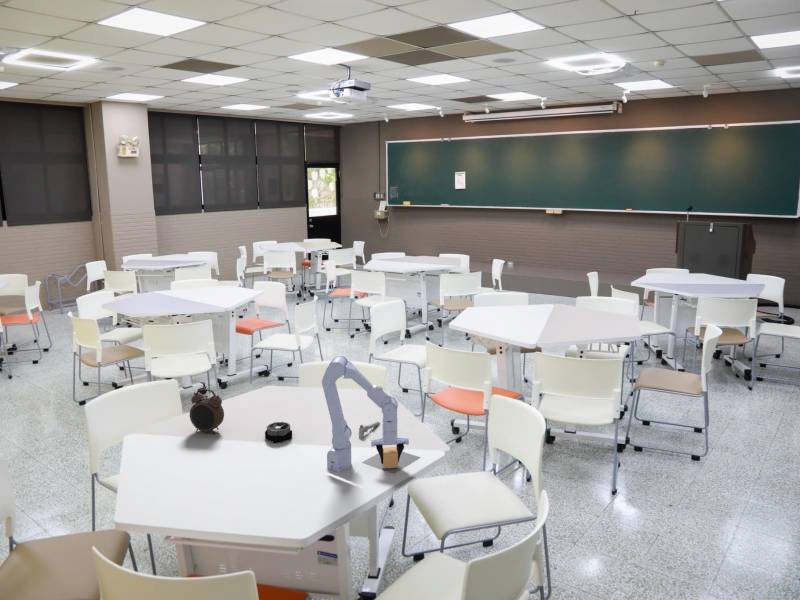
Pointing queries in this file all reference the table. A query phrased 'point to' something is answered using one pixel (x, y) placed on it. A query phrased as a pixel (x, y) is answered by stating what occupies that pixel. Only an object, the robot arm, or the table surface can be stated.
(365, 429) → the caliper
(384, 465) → the orange cube
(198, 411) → the alarm clock
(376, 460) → the duct panel
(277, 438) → the cpu cooler
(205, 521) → the table surface
